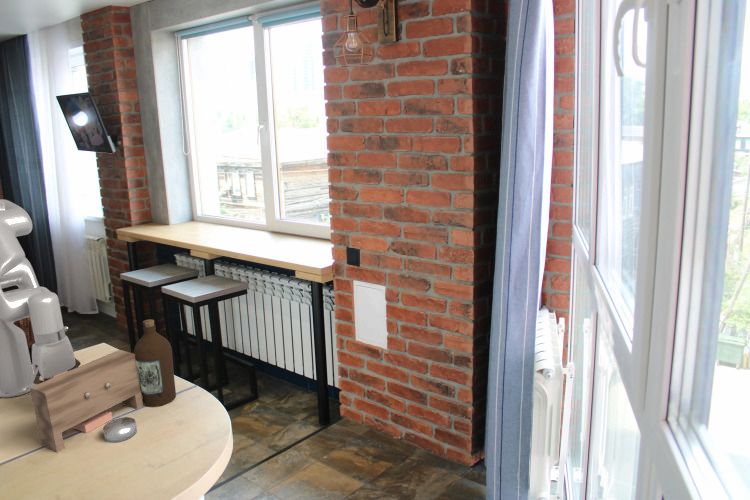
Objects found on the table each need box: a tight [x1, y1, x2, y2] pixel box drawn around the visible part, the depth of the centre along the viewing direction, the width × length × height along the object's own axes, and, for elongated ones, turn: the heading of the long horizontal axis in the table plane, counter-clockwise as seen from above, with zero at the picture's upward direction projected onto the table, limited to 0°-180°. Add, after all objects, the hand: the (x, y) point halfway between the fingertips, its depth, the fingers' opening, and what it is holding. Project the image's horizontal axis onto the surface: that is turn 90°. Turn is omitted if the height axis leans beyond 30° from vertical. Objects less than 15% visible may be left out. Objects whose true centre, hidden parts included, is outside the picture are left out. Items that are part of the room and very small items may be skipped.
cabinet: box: [30, 349, 144, 453], centre depth 157 cm, size 8×26×17 cm, turn 149°
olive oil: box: [132, 319, 177, 408], centre depth 169 cm, size 11×11×25 cm
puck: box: [102, 416, 138, 444], centre depth 154 cm, size 8×8×3 cm
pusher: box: [53, 371, 114, 434], centre depth 162 cm, size 19×8×14 cm, turn 59°
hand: (60, 394), depth 166 cm, fingers closed on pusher, 4 cm apart
